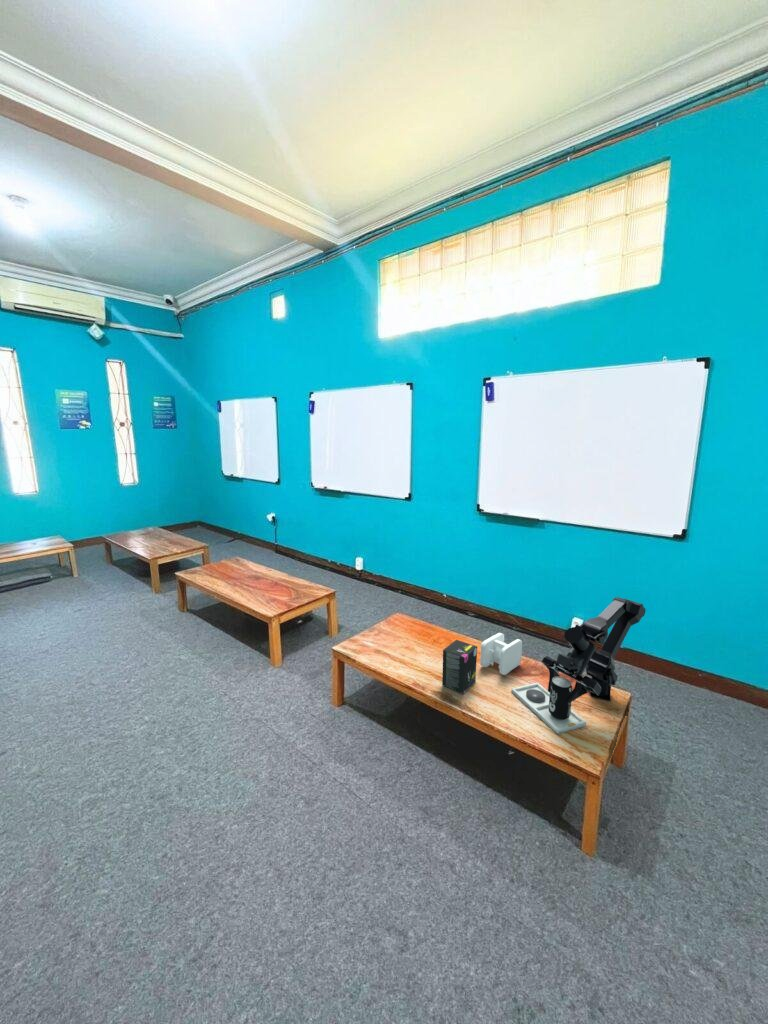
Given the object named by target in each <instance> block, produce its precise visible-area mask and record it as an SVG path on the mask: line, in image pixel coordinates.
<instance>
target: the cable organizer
mask: <svg viewBox="0 0 768 1024" xmlns="http://www.w3.org/2000/svg"><path fill="white" fill-rule="evenodd" d="M522 648H523V640H522V639H519V638H517V639H515V640H513V641H512V642H510V643H509V644H507V642H505V633H503V632H502V633H501V632H497V633H496V634H494V635H492V636H490V637H489V638H487V639H485V640H483V642H482V643H480V661H479V663H480V666H481V667H483V668H488V667H489V666H491V667H493V666H494V665H495V663H496V664H497V665H498V668H497V669H499V674H500V675H502V676H506V675H507V674H509V673H510V672H511V671H513V670H514V669H516V668H517V667H518V666H519V665H520V664H521V662H522V652H523V651H522V650H523V649H522Z"/></svg>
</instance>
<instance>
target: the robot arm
mask: <svg viewBox="0 0 768 1024" xmlns="http://www.w3.org/2000/svg"><path fill="white" fill-rule="evenodd" d="M646 611H647V610H646V608H645V607H644V604H643V603H641V602H637V601H634V600H630V599H627V598H621V597H619V596H617V597H616V596H615V597H613V599H612V602H610V603H609V605H608V606H607V607H606V608H604V610H602V611H601V612H600V614H598V616H596V617H591V618H589V619H587V620H585V621H583V623H582V624H580V625H579V624H575V626H573V627H570V628H567V629H566V630H565V632H564V633H563V635H564V639H565V640H566V642H567V643H568V644H569V646H570V647H571V648H572V651H571V652H570V651H569V652H568V653H567V654H562V653H558V654H557V658H556V660H555V659H553V658H552V657H549V656H547V655H546V656H544V657H542V660H541V663H542V664H543V665H544V666H545V667H546V668H547V670H548V673H549V678H548V679H549V680H548V685H547V686H548V687H547V691H548V692H550V684H551V681H552V679H553V678H554V677H557V676H558V677H561V676H560V674H559V673H561V674H563V675H565V676H566V677H569V678H571V679H573V680H575V684H574V688H572V693H571V694H570V696H569V698H568V700H567V703H568V704H569V703H571V704H572V702H574V701H575V700H577V699H579V698H581V696H584V695H586V694H589V696H590V697H593V698H597V699H601V700H606V701H612V700H611V699H612V698H611V688H612V686H615V685H616V683H617V682H618V674H617V673H616V672H615V669H616V665H615V657H616V656H617V654H618V651H619V650H620V647H622V644H623V642H624V640H625V639H626V637H627V634H628V632H629V630H630V628H631V627H632V626H634V625H636V624H638V623H640V621H641V619H642V618H643V617H644V616H645V615H646ZM610 628H611V630H610V631H609V629H610ZM593 642H594V643H593ZM602 643H603V645H602V646H601V648H600V650H597V645H596V644H602ZM584 672H586V675H585V676H583V673H584Z"/></svg>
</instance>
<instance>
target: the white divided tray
mask: <svg viewBox="0 0 768 1024" xmlns="http://www.w3.org/2000/svg"><path fill="white" fill-rule="evenodd" d="M511 694H513V695H514V696H515V697H516V698H518V700H519V701H520V702H521V703H523V705H525V706H526V707H527V708H528V709H529V710H530V711H531V712H532V713H534V714H535V715H536V716H537V717H538V718H539V719H540V720H541V721H542V722H543V723H545V725H547V727H548V728H550V729H551V730H552V731H553V732H554V733H555V734H556V735H560V734H563V733H566V732H569V731H573V730H576V729H579V728H583V727H587V721H586V720H585V719H583V718H582V717H581V716H580V715H579V714H577V713H576V712H575V711H574V710H572V709H571V712H570V717H569V718H567V719H565V720H560V719H556V718H554V717H553V716H552V715H551V714H550V712H549V698H550V692H548V689H546V688H545V687H544V686H543V685H541V684H540V683H539V682H535V683H530V684H525V685H522V686H521V685H520V686H517V687H513V688H511Z"/></svg>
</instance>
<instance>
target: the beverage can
mask: <svg viewBox="0 0 768 1024" xmlns="http://www.w3.org/2000/svg"><path fill="white" fill-rule="evenodd" d="M572 691H573V686H572V682H571V681H570V680H569V678H567V677H564V676H560V677H558V676H557V677H554V678H553V679H552V681H551V684H550V698H549V712H550V714H551V715H552V716H553V717H554V718H556V719H560V720H565V719H567V718H569V717H570V712H571V710H572V702H571V703H569V704H568V703H567V700H568V698H569V696H570V694H571V693H572Z"/></svg>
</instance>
